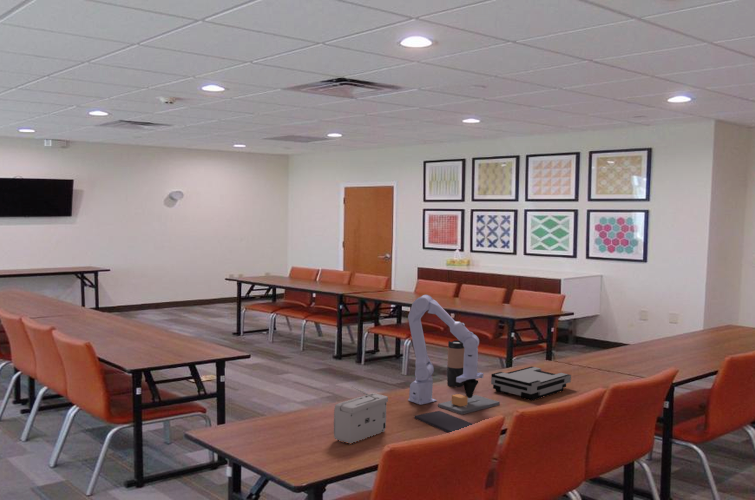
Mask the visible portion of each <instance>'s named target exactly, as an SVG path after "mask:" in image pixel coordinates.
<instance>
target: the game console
mask: <svg viewBox="0 0 755 500" xmlns="http://www.w3.org/2000/svg"><path fill="white" fill-rule="evenodd" d="M490 379H491V381H490V384H491V385H492V389H494V390H495V392H497V393H501V394H505V395H508V394H513V395H516V396H520V397H521V398H520V399H524V398H525V400H528V399H529V401H532V400H533V401H536V400H539V399H542V398H544V397H543V396H545V397H548V396H547V395H549V396H551V395H550V394H552V395H554V394H553V393H555V394H557V392H558V393H561V392H563V391H564V388H566V387H567V384H569V383H571V382H572V375H571V374H568V373H563V372H559V373H552V372H547V371H545V370H544V371H543V370H542V368H540V367H536V366H529V367H524V368H521V369H516V370H513V371H508V372H503V371H498V372H495V373H491V378H490ZM560 391H561V392H560ZM541 397H542V398H541ZM538 398H539V399H538ZM535 399H536V400H535Z"/></svg>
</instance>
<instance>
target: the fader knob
mask: <svg viewBox="0 0 755 500" xmlns="http://www.w3.org/2000/svg"><path fill="white" fill-rule="evenodd" d="M451 401H452V404H454V405H457V406H460V407H461V406H465V405H467V401H468V397H467V396H466V395H464V394H460V393H457V394H452V395H451Z"/></svg>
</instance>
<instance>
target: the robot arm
mask: <svg viewBox="0 0 755 500" xmlns="http://www.w3.org/2000/svg"><path fill="white" fill-rule="evenodd" d="M426 312H427V314H432V315H436V316H437V318H439V320H441V321H442V322H444V323H445V324H446V325H447V326H448V327H449V332H450V333H451V334H452V335H453V336H454V337H455V338H456V340H458V341H460V342H462V343H463V346H464V348H465V352H464V365H463V375H461V376H459V377H456V382H459V383H461V382H462V384H463V386H462V387H463V388H464V391H465V396H467V397H468V398H472V396H473V395H474V393H475V389H476V388H477V385H478V384H479V379H484V373H483V372H478V364H479V363H478V362H479V353H478V352H479V345H480V339H479V337H478V336H477V335H476V334H474V332H473V331H470V330H469V329H468V328H467V327H466V326H465V325H466V324H465V323H464V322H461V321H456V320H455V319H454V318H453V317H452V316H451V315H450V314H449V313H448V312H447V311H446V310H445V309H444V308H443V307H442V305H440V303H439V302H438V301H437V300H435V299H434V298H433V297H432V296H431V295H429V294H423V295H421V296H419V297H417V298H416V299H414V301H413V302H412V303H411V307H410V310H409V313H408V314H407V320H408V325H409V329H410V337H411V340H412V345H413V350H414V356H415V362H414V363H415V370H414V375H415V380H414V381H412V382H411V383H410V384H409V396H408V399H407V401H409V402H412V403H415V404H417V405H425V404H431V403H434V402H437V401H438V400H437V399H435V398H433V386H434V378H433V374H434V372H435V368H434V365H433V363H432V362H431V359H430V357H429V355H428V350H427V345H426V339H425V336H424V335H425V334H424V331H423V325H422V324H423V323H422V318H423V316H424V315H425V313H426Z"/></svg>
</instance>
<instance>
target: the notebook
mask: <svg viewBox="0 0 755 500" xmlns="http://www.w3.org/2000/svg"><path fill="white" fill-rule="evenodd" d="M414 419H415V420H417V419H418V421H419V422H422V423H425V424H427V425H429V426H432V427H434V428H437V429H438V430H441V431H443V432H446V433H448V432H452V431H455V430H459V429H461V428H464V427H467V426H469V425H472V424H473V422H469V421H467V420H465V419H461V418H459V417H457V416H454V415H451V414H449V413H446V412H444V411H442V410H436V411H432V412H431V411H430V412H425V413H421V414H416V415H414Z"/></svg>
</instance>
